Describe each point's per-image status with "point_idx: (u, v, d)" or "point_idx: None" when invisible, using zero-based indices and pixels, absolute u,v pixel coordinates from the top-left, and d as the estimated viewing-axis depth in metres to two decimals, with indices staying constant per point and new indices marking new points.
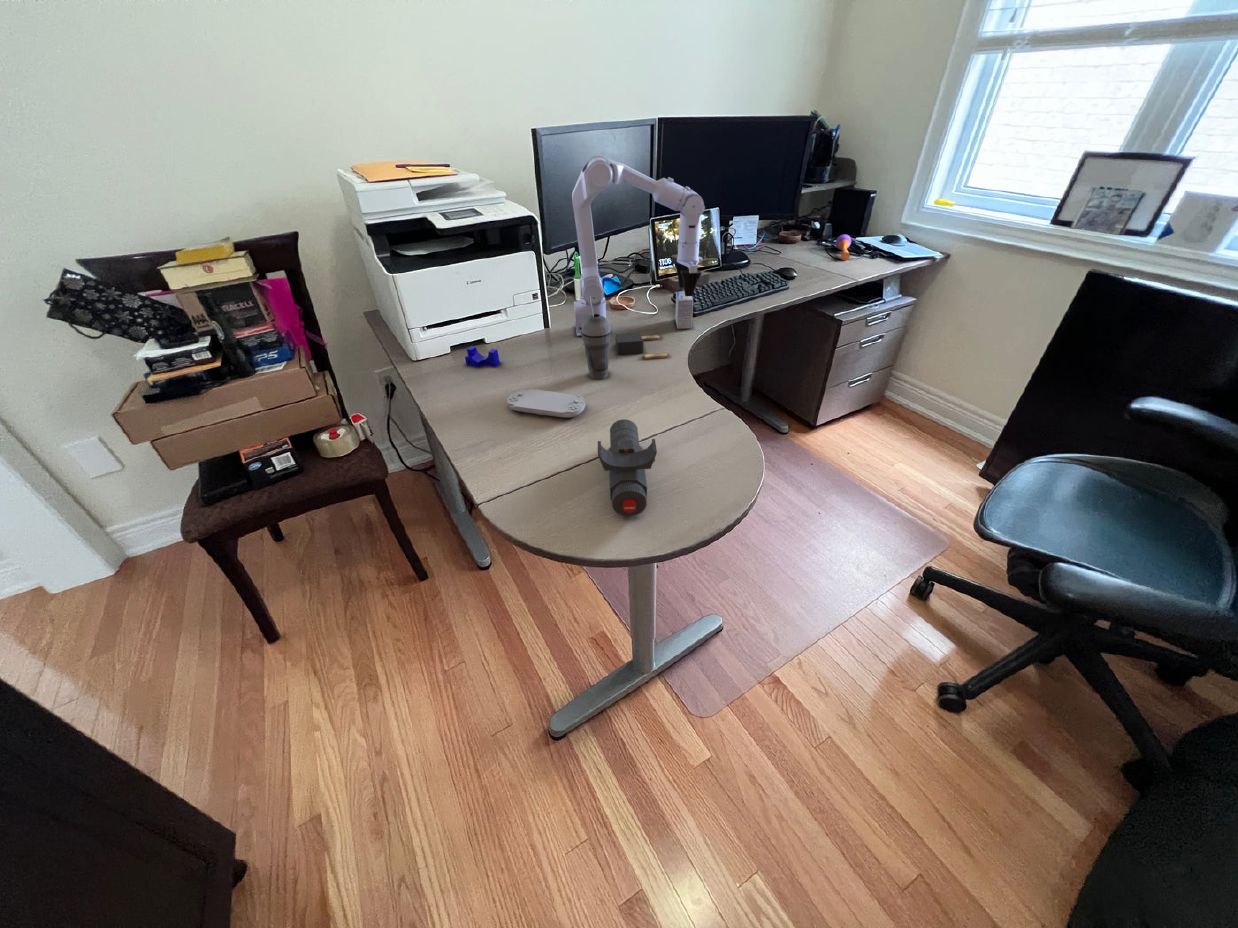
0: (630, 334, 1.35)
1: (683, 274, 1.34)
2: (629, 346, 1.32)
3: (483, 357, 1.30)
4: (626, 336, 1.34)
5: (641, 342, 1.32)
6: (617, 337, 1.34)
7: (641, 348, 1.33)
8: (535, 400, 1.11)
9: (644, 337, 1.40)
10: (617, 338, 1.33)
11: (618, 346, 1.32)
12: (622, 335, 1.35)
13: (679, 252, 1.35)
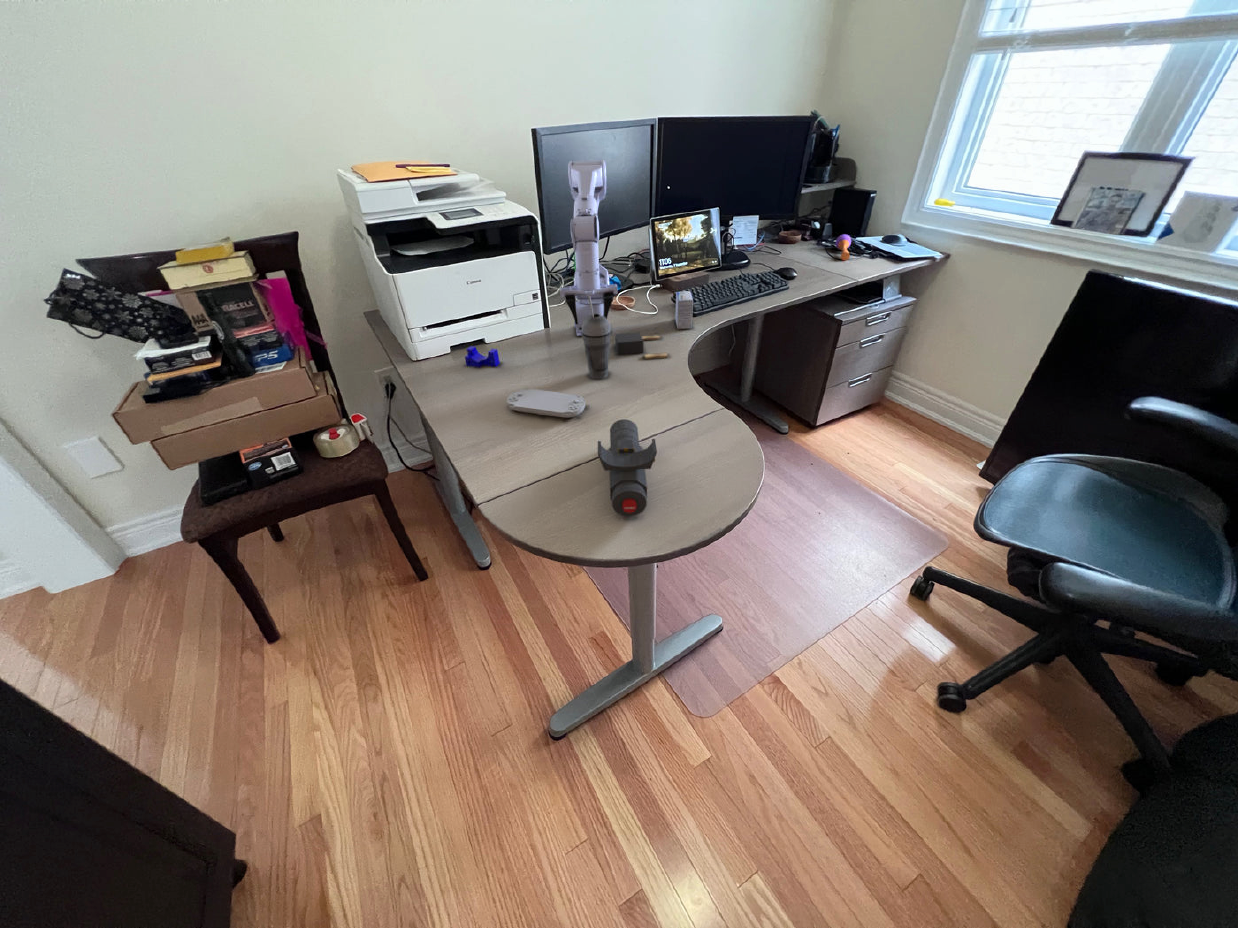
0: (630, 334, 1.35)
1: None
2: (629, 346, 1.32)
3: (483, 357, 1.30)
4: (626, 336, 1.34)
5: (641, 342, 1.32)
6: (617, 337, 1.34)
7: (641, 348, 1.33)
8: (535, 400, 1.11)
9: (644, 337, 1.40)
10: (617, 338, 1.33)
11: (618, 346, 1.32)
12: (622, 335, 1.35)
13: None
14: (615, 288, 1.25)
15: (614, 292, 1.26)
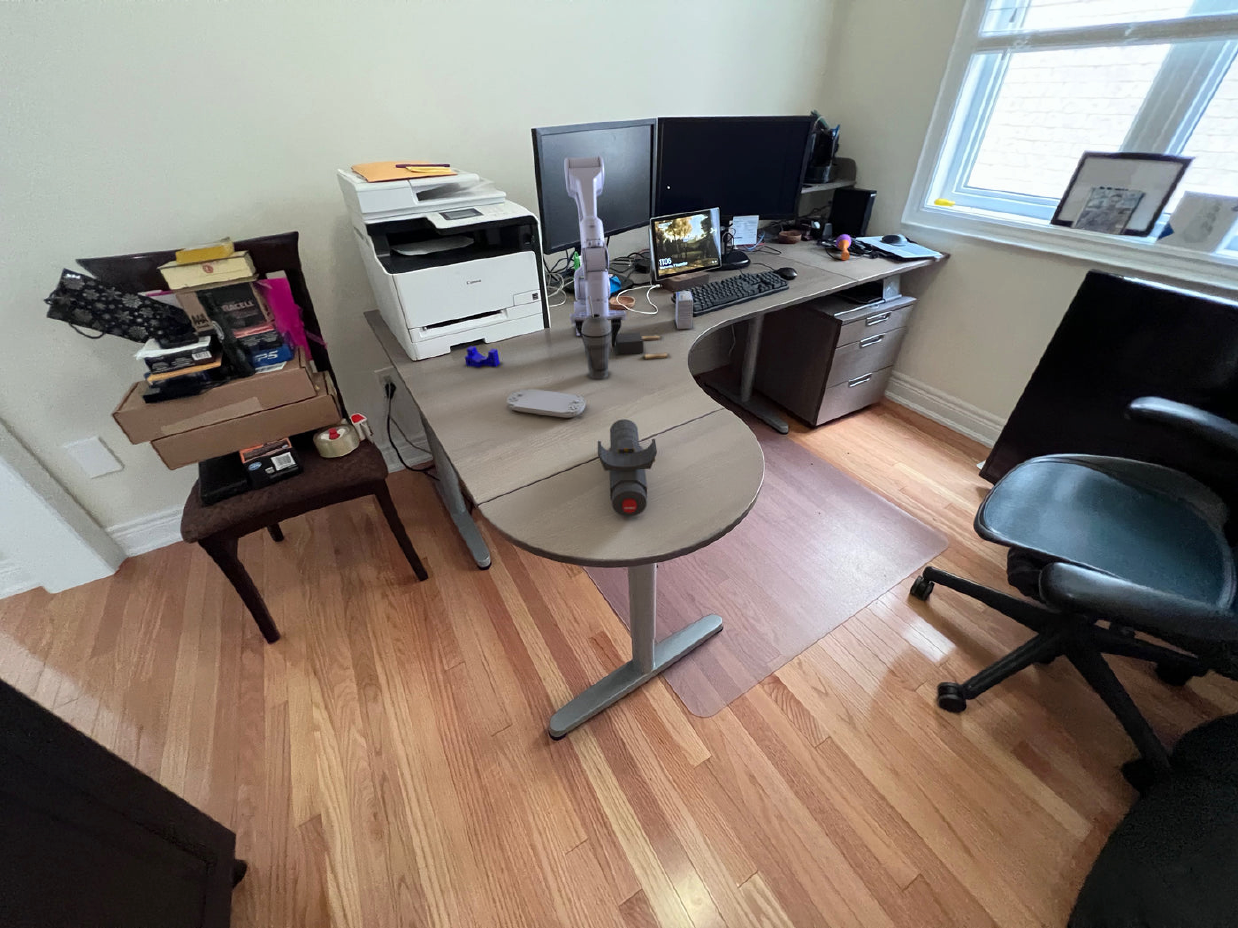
0: (630, 334, 1.35)
1: None
2: (629, 346, 1.32)
3: (483, 357, 1.30)
4: (626, 336, 1.34)
5: (641, 342, 1.32)
6: (617, 337, 1.34)
7: (641, 348, 1.33)
8: (535, 400, 1.11)
9: (644, 337, 1.40)
10: (617, 338, 1.33)
11: (618, 346, 1.32)
12: (622, 335, 1.35)
13: None
14: (623, 315, 1.29)
15: (622, 318, 1.29)
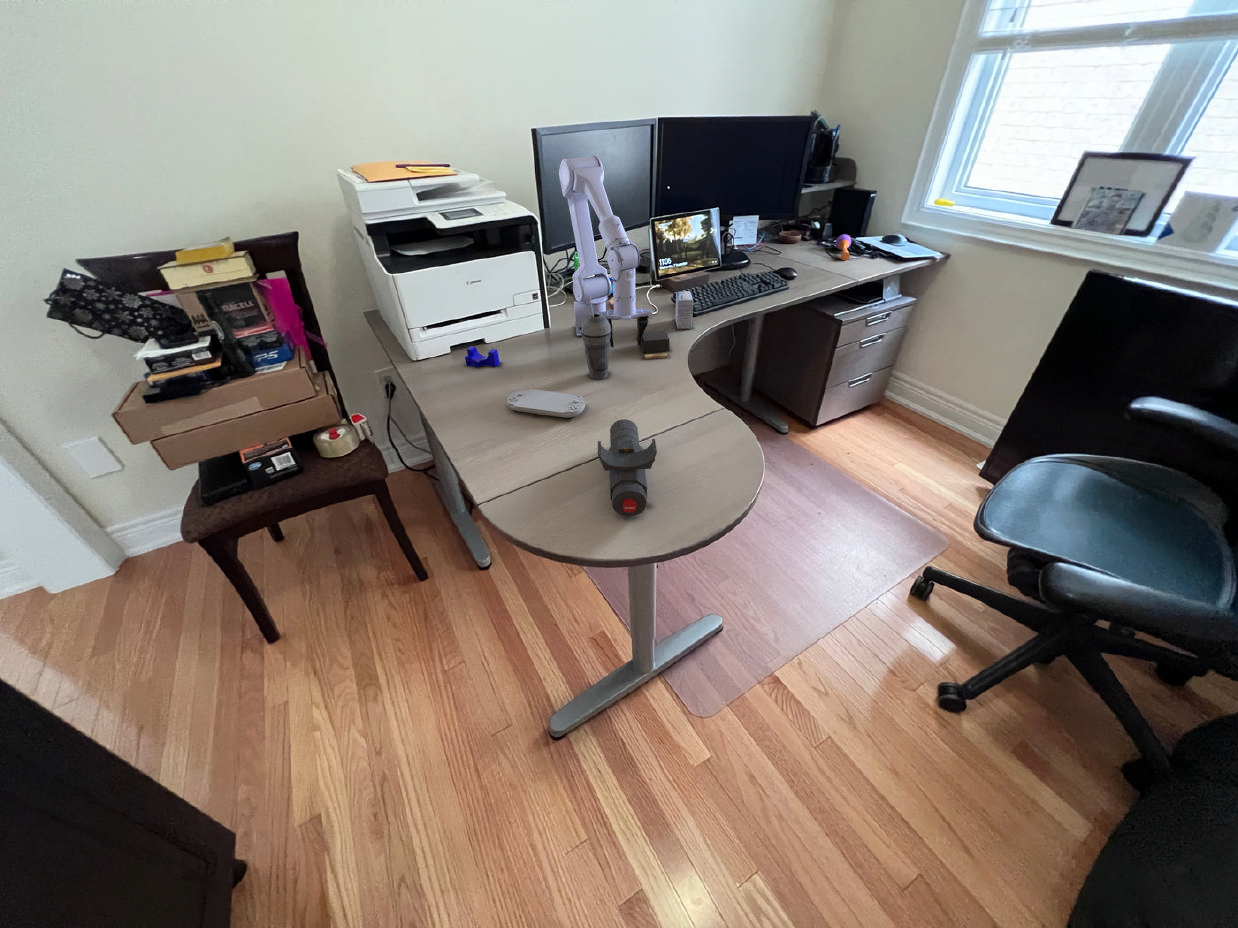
0: (656, 332, 1.36)
1: None
2: (655, 344, 1.32)
3: (483, 357, 1.30)
4: (652, 334, 1.35)
5: (667, 340, 1.32)
6: (643, 335, 1.34)
7: (667, 346, 1.33)
8: (535, 400, 1.11)
9: None
10: (643, 336, 1.34)
11: (644, 344, 1.32)
12: (647, 333, 1.35)
13: None
14: (650, 313, 1.29)
15: (649, 317, 1.30)
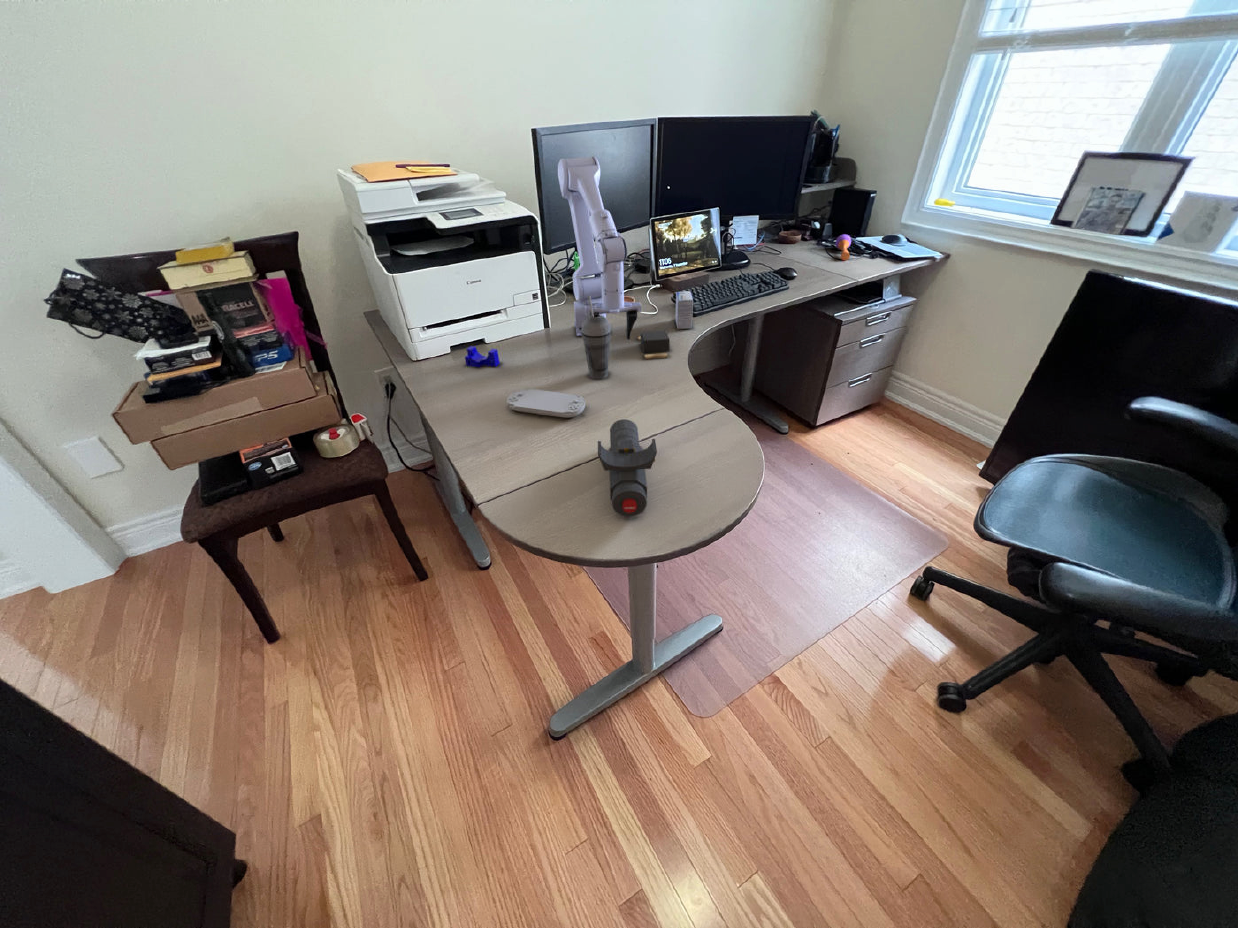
0: (656, 332, 1.36)
1: None
2: (655, 344, 1.32)
3: (483, 357, 1.30)
4: (652, 334, 1.35)
5: (667, 340, 1.32)
6: (643, 335, 1.34)
7: (667, 346, 1.33)
8: (535, 400, 1.11)
9: None
10: (643, 336, 1.34)
11: (644, 344, 1.32)
12: (647, 333, 1.35)
13: None
14: (639, 306, 1.28)
15: (638, 310, 1.28)
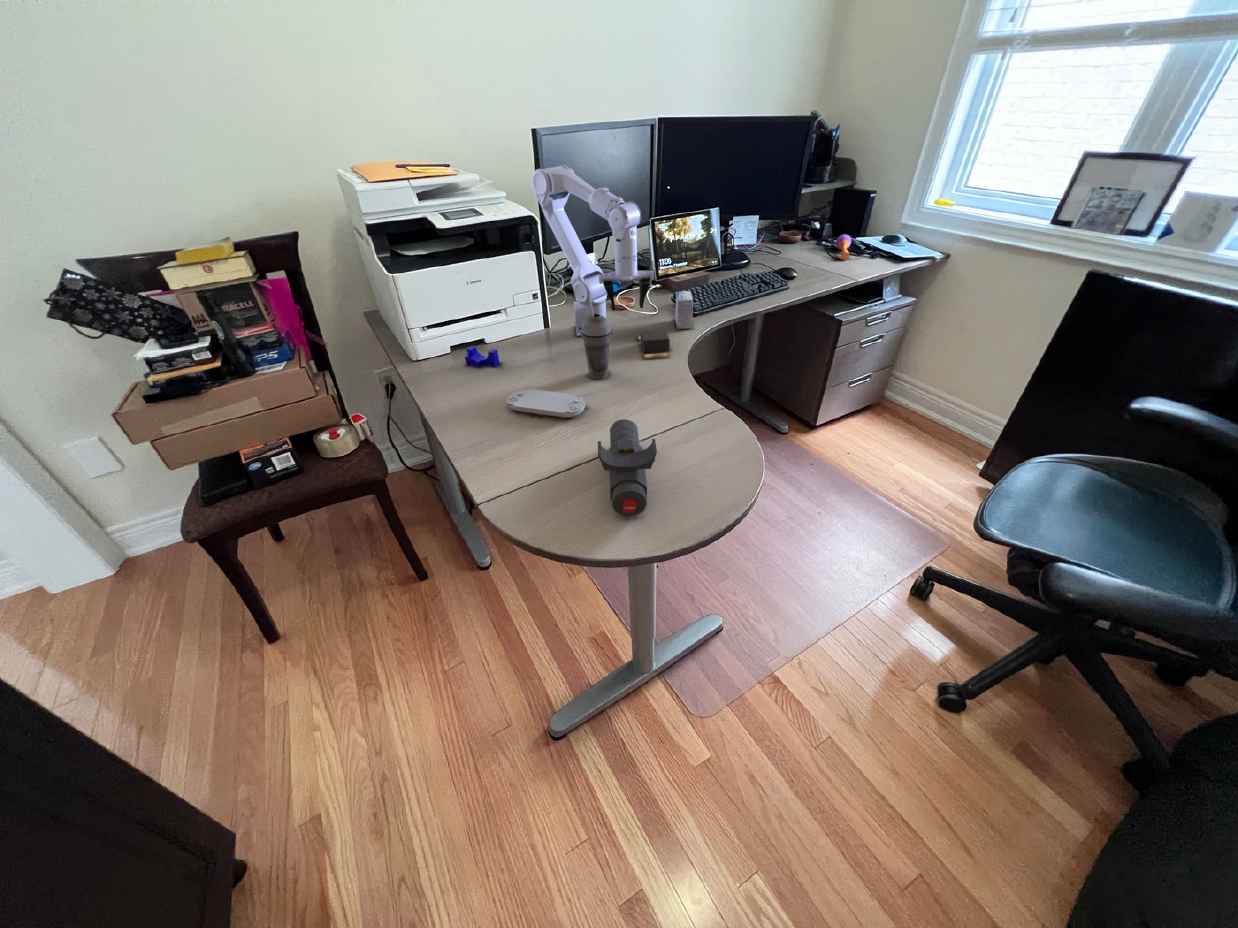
0: (656, 332, 1.36)
1: None
2: (655, 344, 1.32)
3: (483, 357, 1.30)
4: (652, 334, 1.35)
5: (667, 340, 1.32)
6: (643, 335, 1.34)
7: (667, 346, 1.33)
8: (535, 400, 1.11)
9: None
10: (643, 336, 1.34)
11: (644, 344, 1.32)
12: (647, 333, 1.35)
13: None
14: (652, 274, 1.29)
15: (651, 278, 1.29)
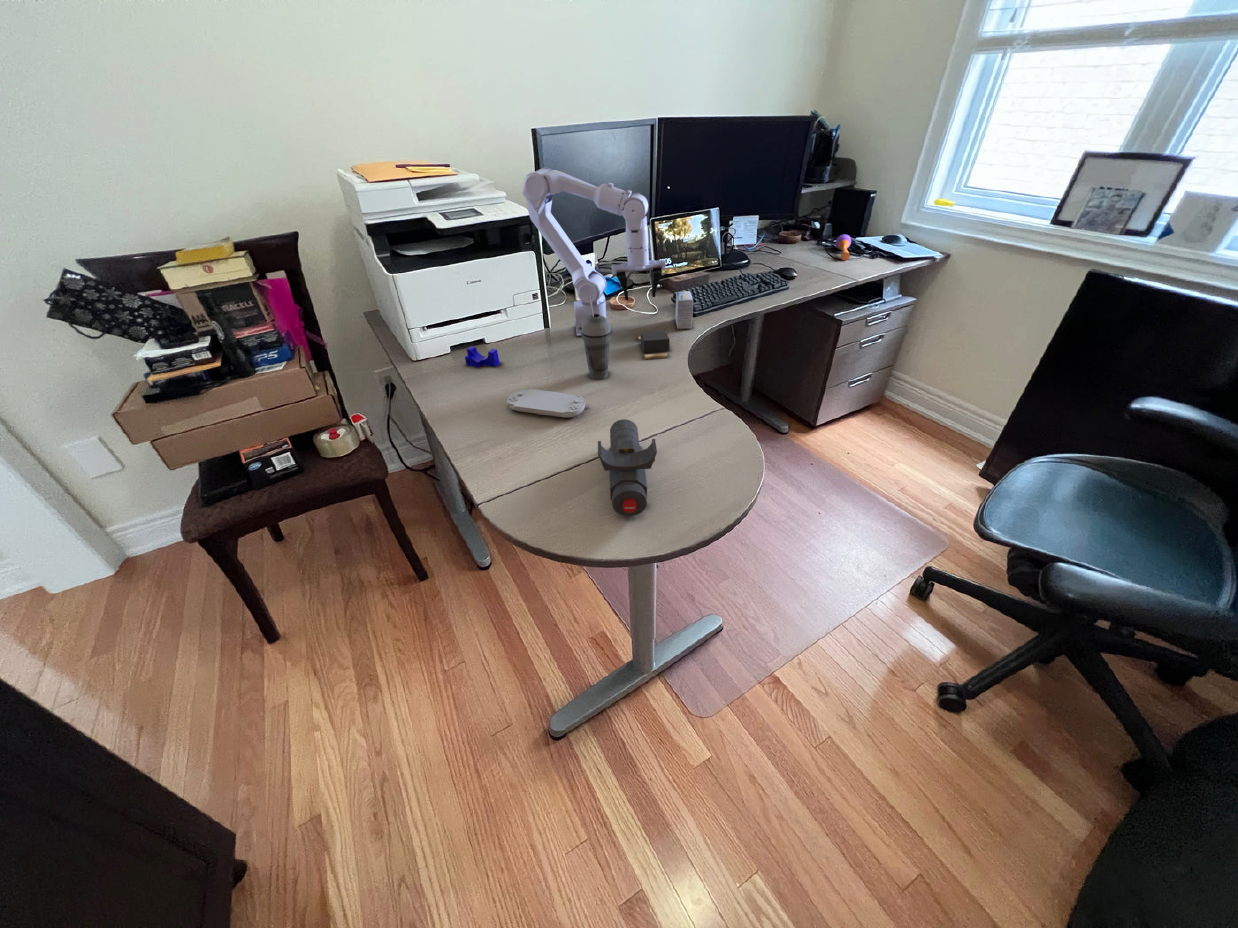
0: (656, 332, 1.36)
1: None
2: (655, 344, 1.32)
3: (483, 357, 1.30)
4: (652, 334, 1.35)
5: (667, 340, 1.32)
6: (643, 335, 1.34)
7: (667, 346, 1.33)
8: (535, 400, 1.11)
9: None
10: (643, 336, 1.34)
11: (644, 344, 1.32)
12: (647, 333, 1.35)
13: None
14: (663, 263, 1.32)
15: (662, 267, 1.33)
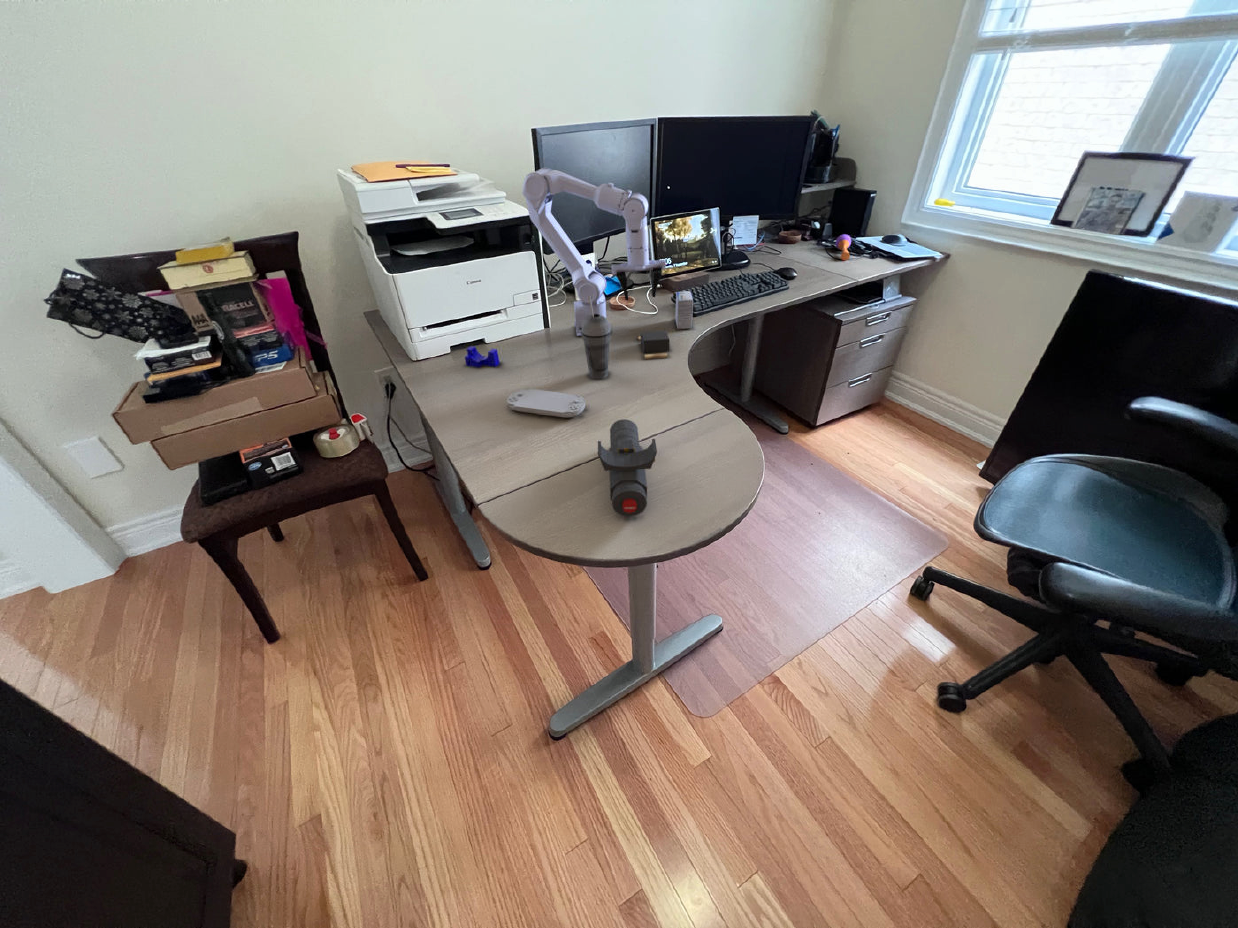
0: (656, 332, 1.36)
1: None
2: (655, 344, 1.32)
3: (483, 357, 1.30)
4: (652, 334, 1.35)
5: (667, 340, 1.32)
6: (643, 335, 1.34)
7: (667, 346, 1.33)
8: (535, 400, 1.11)
9: None
10: (643, 336, 1.34)
11: (644, 344, 1.32)
12: (647, 333, 1.35)
13: None
14: (663, 263, 1.32)
15: (662, 267, 1.33)
